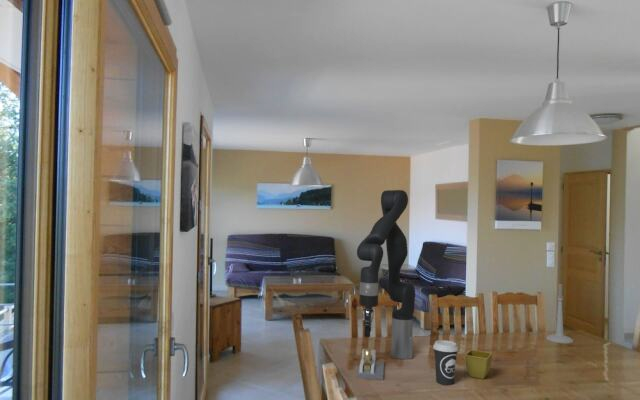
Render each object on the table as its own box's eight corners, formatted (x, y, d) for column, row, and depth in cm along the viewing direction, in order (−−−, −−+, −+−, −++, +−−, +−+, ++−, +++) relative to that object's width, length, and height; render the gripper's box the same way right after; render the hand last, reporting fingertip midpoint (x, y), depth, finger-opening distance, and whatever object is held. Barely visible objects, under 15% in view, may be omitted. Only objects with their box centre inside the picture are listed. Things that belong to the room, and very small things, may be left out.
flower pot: (487, 382, 185) (487, 358, 186) (464, 377, 190) (464, 354, 190) (492, 375, 193) (492, 353, 193) (470, 371, 197) (470, 349, 198)
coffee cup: (458, 380, 187) (459, 341, 187) (457, 388, 178) (457, 347, 178) (433, 376, 190) (434, 338, 190) (430, 384, 181) (431, 344, 181)
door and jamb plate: (384, 363, 206) (384, 350, 206) (383, 379, 185) (383, 365, 185) (360, 361, 207) (361, 348, 207) (357, 377, 186) (357, 363, 187)
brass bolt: (371, 364, 198) (372, 345, 198) (370, 371, 190) (371, 350, 190) (364, 364, 198) (364, 344, 198) (363, 370, 190) (363, 350, 190)
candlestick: (540, 337, 257) (541, 281, 258) (561, 336, 260) (561, 281, 261) (558, 343, 245) (558, 285, 246) (579, 342, 248) (579, 284, 249)
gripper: (377, 296, 185) (376, 339, 184) (378, 291, 199) (377, 330, 198) (358, 295, 186) (356, 337, 185) (360, 290, 200) (359, 329, 199)
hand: (367, 334), depth 192 cm, fingers open, 8 cm apart
